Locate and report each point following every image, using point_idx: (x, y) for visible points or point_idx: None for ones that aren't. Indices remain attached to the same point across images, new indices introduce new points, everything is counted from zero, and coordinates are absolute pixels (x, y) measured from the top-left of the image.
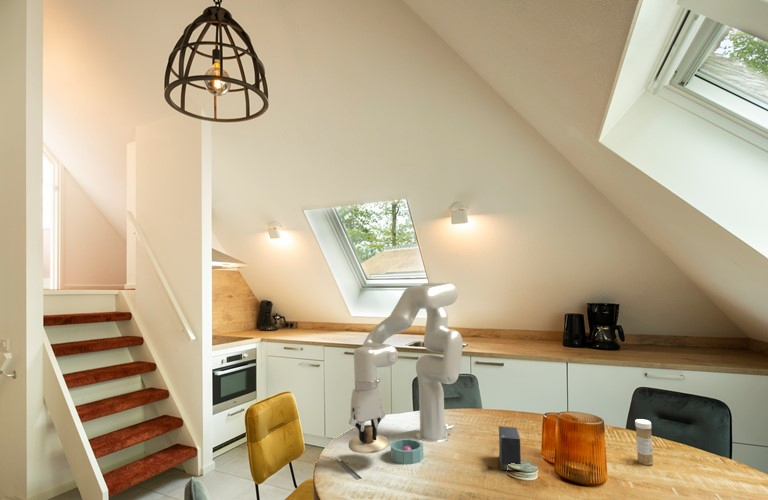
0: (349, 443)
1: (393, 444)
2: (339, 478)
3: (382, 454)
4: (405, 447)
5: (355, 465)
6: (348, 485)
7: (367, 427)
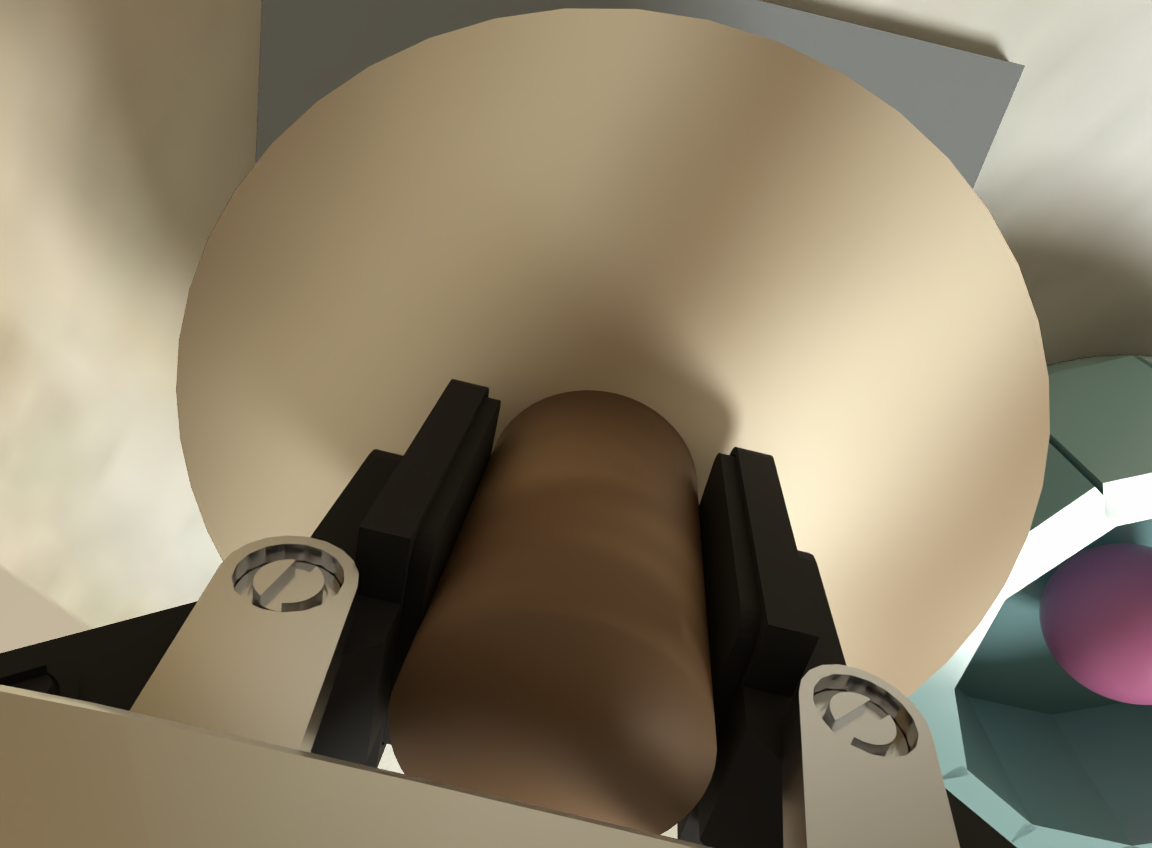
0: (230, 233)
1: (1085, 544)
2: (117, 326)
3: (1046, 180)
4: (1132, 673)
5: None
6: (140, 514)
7: (501, 775)
